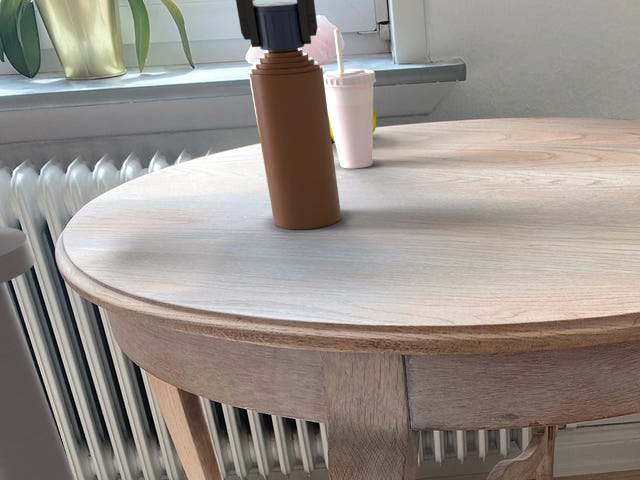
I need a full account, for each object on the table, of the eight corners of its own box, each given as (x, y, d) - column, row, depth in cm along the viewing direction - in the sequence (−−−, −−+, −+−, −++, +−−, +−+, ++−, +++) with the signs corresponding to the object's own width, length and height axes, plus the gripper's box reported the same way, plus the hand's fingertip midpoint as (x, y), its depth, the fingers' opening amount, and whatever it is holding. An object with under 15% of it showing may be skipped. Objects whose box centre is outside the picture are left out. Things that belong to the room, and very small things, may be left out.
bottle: (272, 232, 82) (235, 16, 72) (276, 213, 87) (242, 10, 77) (341, 226, 83) (313, 11, 73) (341, 208, 88) (315, 5, 78)
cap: (258, 51, 75) (251, 7, 73) (261, 46, 78) (254, 3, 76) (304, 48, 75) (298, 4, 73) (305, 43, 78) (299, 1, 77)
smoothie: (321, 163, 105) (303, 29, 97) (371, 156, 107) (358, 24, 99) (340, 174, 100) (323, 33, 92) (392, 165, 102) (380, 28, 94)
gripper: (139, -215, 63) (193, 55, 73) (338, -222, 64) (365, 44, 74) (156, -203, 69) (204, 45, 79) (338, -209, 70) (363, 35, 80)
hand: (282, 43), depth 76 cm, fingers closed on cap, 3 cm apart
